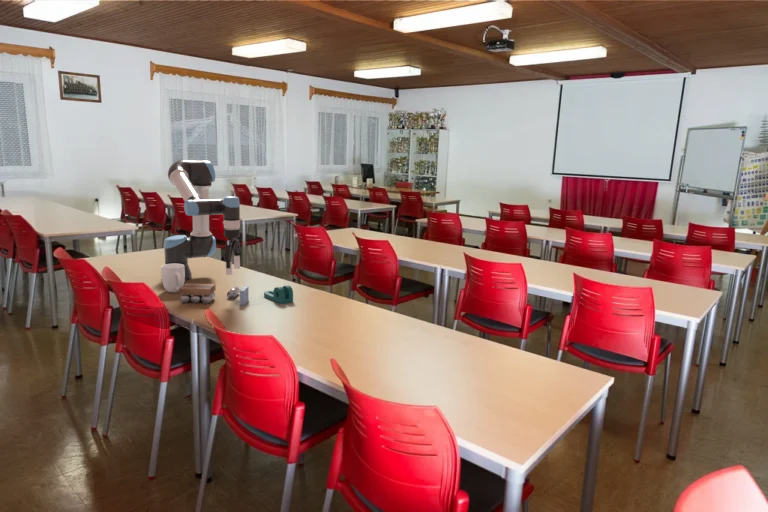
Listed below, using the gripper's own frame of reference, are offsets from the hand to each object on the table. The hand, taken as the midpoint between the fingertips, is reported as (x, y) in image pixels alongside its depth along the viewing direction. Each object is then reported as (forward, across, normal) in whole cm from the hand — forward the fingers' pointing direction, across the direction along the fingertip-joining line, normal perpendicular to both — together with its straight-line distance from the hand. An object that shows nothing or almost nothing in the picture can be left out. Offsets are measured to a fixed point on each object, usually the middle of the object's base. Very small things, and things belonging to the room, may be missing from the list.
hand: (233, 271), depth 250 cm
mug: (+13, -5, -31) cm, 34 cm away
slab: (+8, +10, -14) cm, 19 cm away
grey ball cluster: (+13, +10, -14) cm, 21 cm away
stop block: (+13, +10, +8) cm, 18 cm away
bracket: (+13, +2, +22) cm, 26 cm away
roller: (+11, 0, 0) cm, 11 cm away
